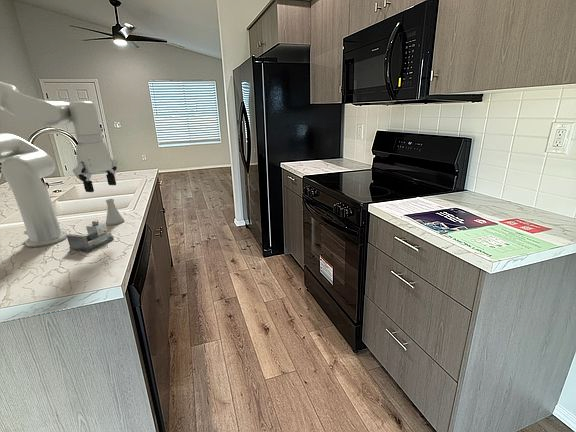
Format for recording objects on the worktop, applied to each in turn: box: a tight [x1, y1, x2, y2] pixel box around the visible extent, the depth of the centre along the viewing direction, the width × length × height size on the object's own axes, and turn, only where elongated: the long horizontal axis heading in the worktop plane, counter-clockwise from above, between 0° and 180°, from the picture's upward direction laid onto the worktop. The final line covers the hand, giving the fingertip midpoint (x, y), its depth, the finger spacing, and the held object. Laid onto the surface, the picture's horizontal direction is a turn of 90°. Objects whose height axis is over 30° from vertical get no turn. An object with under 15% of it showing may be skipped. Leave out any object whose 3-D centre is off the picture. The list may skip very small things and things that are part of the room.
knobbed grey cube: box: [85, 220, 109, 239], centre depth 111 cm, size 4×6×6 cm, turn 74°
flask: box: [105, 198, 125, 226], centre depth 130 cm, size 7×7×10 cm
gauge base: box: [66, 231, 115, 253], centre depth 109 cm, size 11×8×6 cm
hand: (101, 188), depth 112 cm, fingers open, 9 cm apart
